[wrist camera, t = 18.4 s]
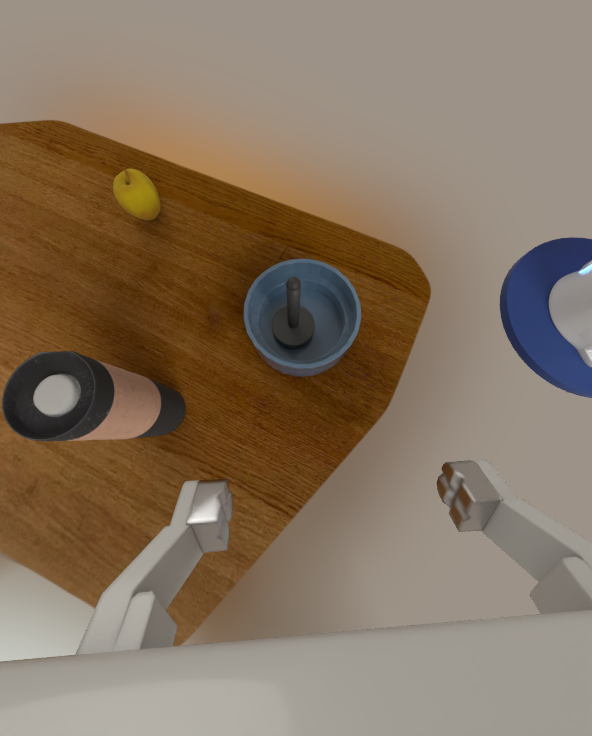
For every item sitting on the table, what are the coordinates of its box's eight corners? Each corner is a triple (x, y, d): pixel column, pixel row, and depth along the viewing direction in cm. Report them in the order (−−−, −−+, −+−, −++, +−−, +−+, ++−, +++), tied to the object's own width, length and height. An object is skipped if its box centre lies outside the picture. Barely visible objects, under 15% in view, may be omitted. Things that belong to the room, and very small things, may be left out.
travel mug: (159, 448, 41) (37, 464, 21) (125, 412, 42) (-20, 395, 22) (198, 409, 42) (117, 391, 23) (164, 375, 43) (58, 329, 24)
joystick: (317, 316, 45) (329, 261, 30) (308, 354, 43) (316, 314, 29) (278, 307, 45) (272, 247, 30) (268, 344, 44) (255, 300, 29)
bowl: (360, 294, 47) (370, 273, 40) (339, 388, 43) (347, 381, 37) (265, 272, 47) (261, 247, 41) (238, 363, 44) (228, 351, 37)
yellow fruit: (155, 192, 51) (130, 148, 43) (175, 216, 50) (152, 176, 42) (124, 210, 50) (93, 170, 42) (143, 236, 49) (115, 198, 41)
